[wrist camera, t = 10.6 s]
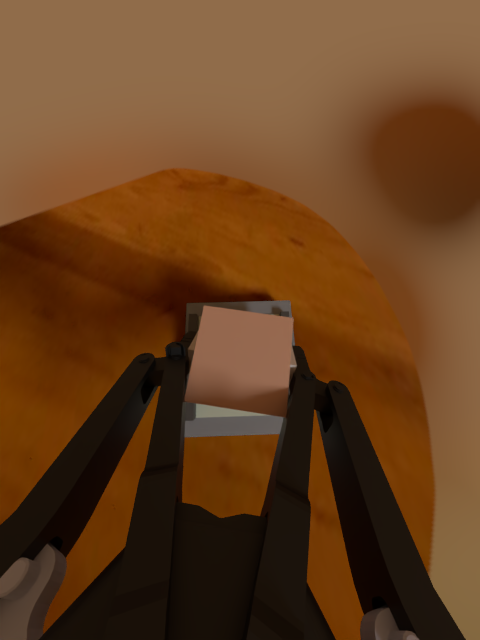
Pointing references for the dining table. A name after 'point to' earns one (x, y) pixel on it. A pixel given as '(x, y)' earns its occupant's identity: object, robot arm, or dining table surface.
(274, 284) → the dining table surface
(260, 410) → the block
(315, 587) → the dining table surface
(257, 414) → the step
